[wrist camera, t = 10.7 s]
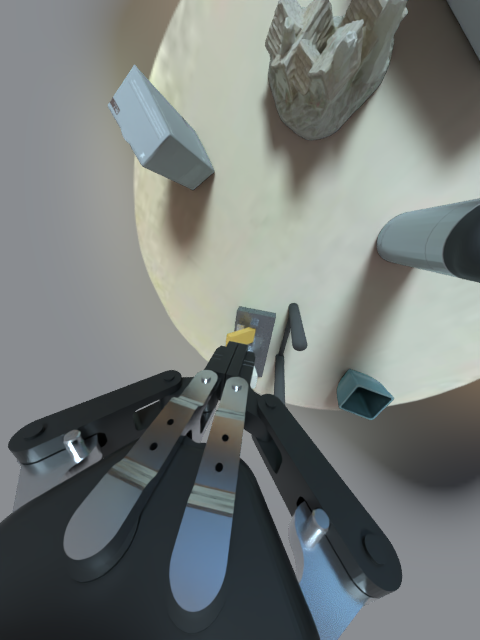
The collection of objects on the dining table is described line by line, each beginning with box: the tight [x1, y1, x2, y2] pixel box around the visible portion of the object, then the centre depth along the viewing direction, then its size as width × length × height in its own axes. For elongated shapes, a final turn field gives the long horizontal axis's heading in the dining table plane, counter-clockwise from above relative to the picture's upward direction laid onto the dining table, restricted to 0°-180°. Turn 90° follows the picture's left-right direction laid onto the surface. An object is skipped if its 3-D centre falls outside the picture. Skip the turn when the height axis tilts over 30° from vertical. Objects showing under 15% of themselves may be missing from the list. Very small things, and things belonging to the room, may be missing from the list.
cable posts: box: [274, 303, 307, 405], centre depth 42 cm, size 2×18×18 cm, turn 172°
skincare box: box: [108, 65, 214, 190], centre depth 31 cm, size 8×7×16 cm
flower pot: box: [337, 369, 394, 420], centre depth 47 cm, size 9×9×9 cm
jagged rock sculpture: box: [265, 0, 408, 140], centre depth 23 cm, size 16×16×15 cm
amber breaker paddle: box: [226, 327, 256, 346], centre depth 45 cm, size 2×4×8 cm
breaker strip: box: [235, 306, 276, 377], centre depth 51 cm, size 10×20×5 cm, turn 172°
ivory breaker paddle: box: [250, 366, 258, 388], centre depth 48 cm, size 2×4×8 cm, turn 173°
